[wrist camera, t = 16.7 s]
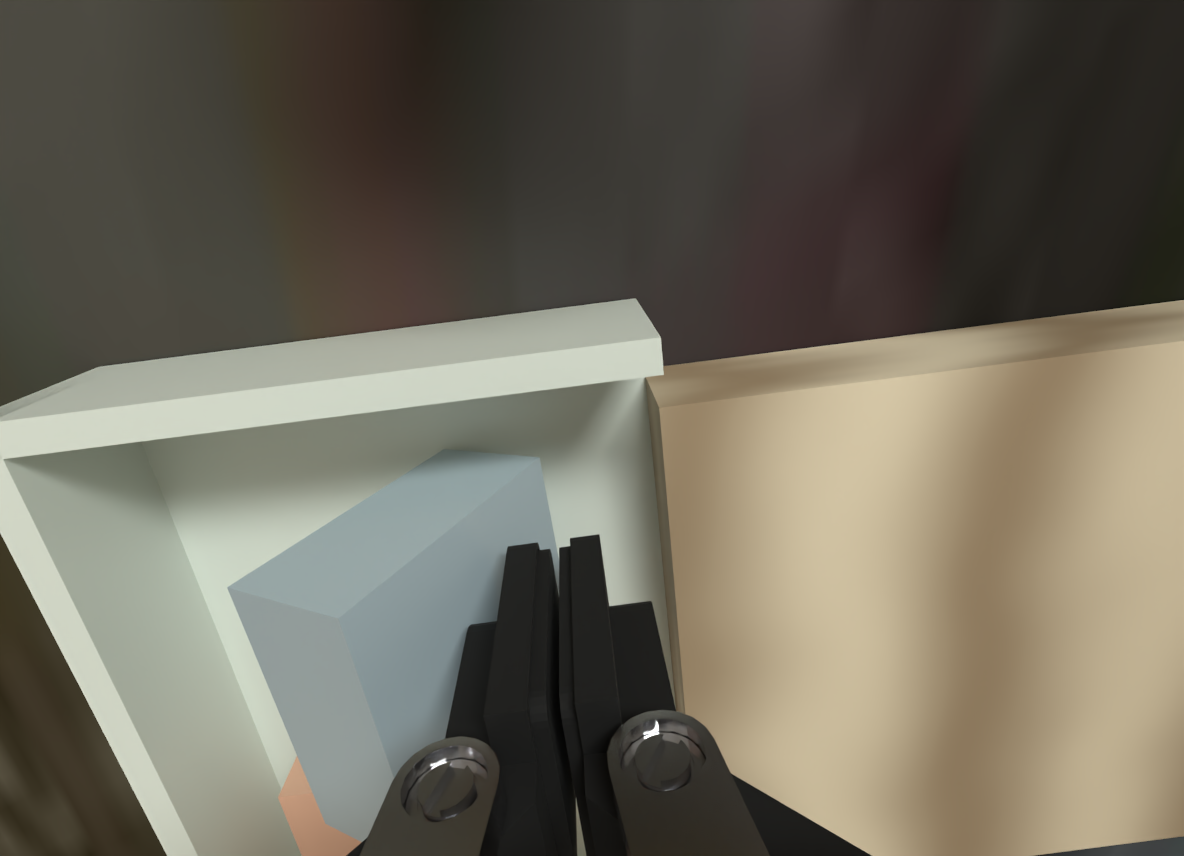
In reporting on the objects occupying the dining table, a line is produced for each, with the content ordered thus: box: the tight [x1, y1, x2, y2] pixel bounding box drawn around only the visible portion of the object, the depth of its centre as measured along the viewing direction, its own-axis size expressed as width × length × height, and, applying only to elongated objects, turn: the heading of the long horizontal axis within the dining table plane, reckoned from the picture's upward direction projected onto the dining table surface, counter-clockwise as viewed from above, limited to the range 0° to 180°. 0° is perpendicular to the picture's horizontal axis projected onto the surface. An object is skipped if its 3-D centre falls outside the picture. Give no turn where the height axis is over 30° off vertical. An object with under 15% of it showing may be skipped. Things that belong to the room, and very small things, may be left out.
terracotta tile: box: [278, 757, 361, 856], centre depth 16 cm, size 5×5×2 cm
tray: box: [0, 298, 676, 856], centre depth 14 cm, size 11×16×4 cm
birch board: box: [645, 300, 1184, 856], centre depth 15 cm, size 14×13×2 cm
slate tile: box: [227, 449, 559, 842], centre depth 12 cm, size 5×5×2 cm
